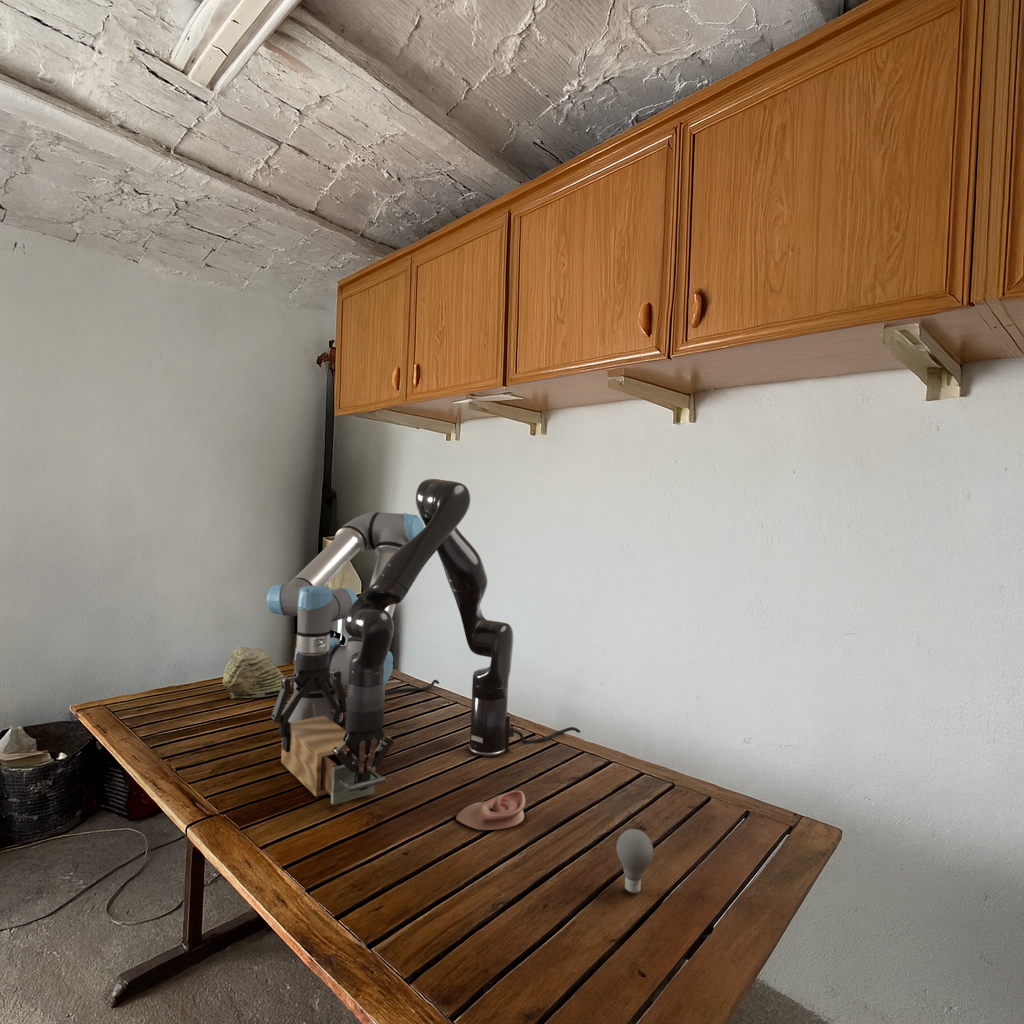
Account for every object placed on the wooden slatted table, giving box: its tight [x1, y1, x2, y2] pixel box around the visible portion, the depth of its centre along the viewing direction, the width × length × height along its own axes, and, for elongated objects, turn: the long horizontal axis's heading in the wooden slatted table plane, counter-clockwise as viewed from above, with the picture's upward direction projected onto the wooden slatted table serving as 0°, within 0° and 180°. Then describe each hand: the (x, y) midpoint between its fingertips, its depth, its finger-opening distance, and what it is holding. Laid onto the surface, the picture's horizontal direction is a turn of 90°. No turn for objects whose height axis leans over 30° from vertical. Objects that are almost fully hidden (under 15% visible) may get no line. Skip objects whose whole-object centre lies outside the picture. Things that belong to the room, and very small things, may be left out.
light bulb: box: [615, 828, 654, 894], centre depth 106 cm, size 6×6×10 cm
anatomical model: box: [455, 789, 526, 831], centre depth 128 cm, size 13×4×12 cm
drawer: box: [321, 750, 386, 806], centre depth 137 cm, size 25×9×7 cm, turn 40°
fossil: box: [222, 646, 285, 699], centre depth 198 cm, size 9×18×15 cm, turn 132°
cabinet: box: [280, 716, 349, 798], centre depth 145 cm, size 21×10×9 cm, turn 40°
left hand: (309, 744), depth 150 cm, fingers closed on cabinet, 10 cm apart
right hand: (361, 788), depth 129 cm, fingers closed
